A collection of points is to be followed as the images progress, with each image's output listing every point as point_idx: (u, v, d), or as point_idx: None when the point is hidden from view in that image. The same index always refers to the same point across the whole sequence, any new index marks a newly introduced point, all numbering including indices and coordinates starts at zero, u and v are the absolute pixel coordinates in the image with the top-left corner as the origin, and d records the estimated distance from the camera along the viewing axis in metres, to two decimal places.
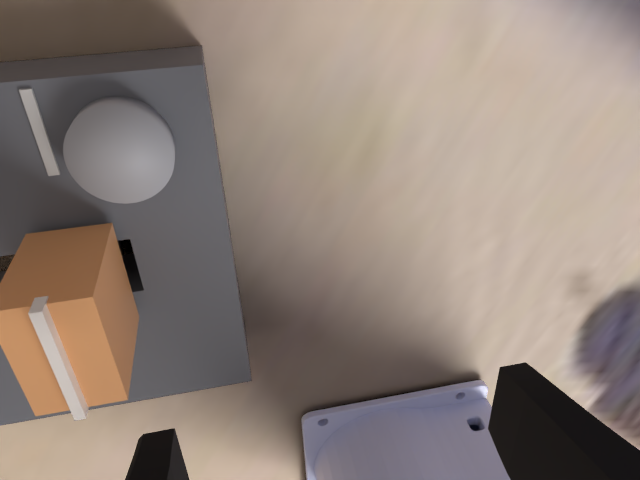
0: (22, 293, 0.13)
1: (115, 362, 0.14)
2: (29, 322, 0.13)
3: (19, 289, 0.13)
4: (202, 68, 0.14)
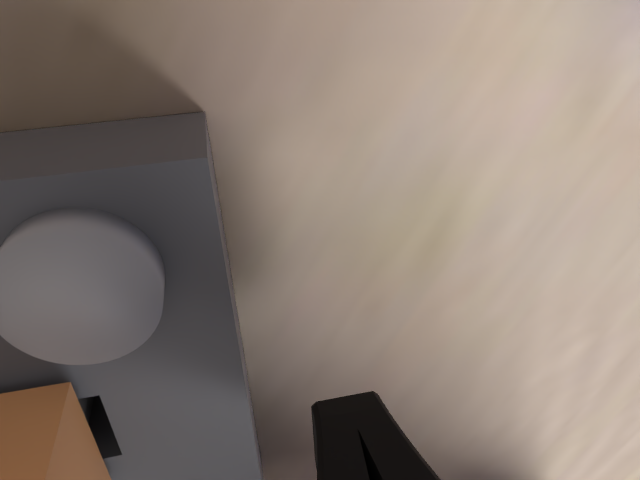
0: None
1: None
2: None
3: None
4: (206, 162, 0.09)
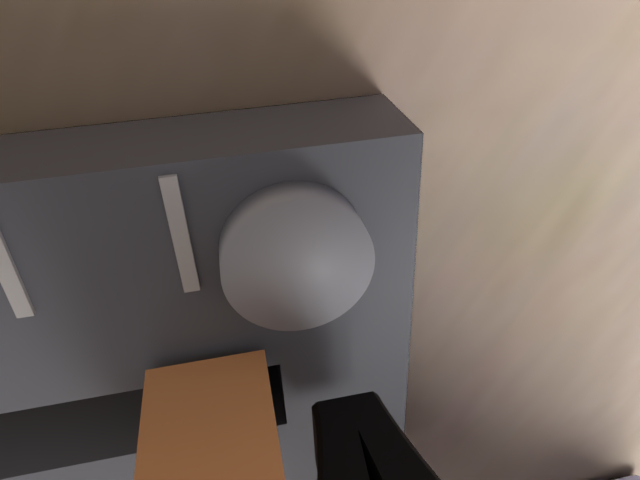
0: None
1: None
2: None
3: None
4: (421, 138, 0.09)
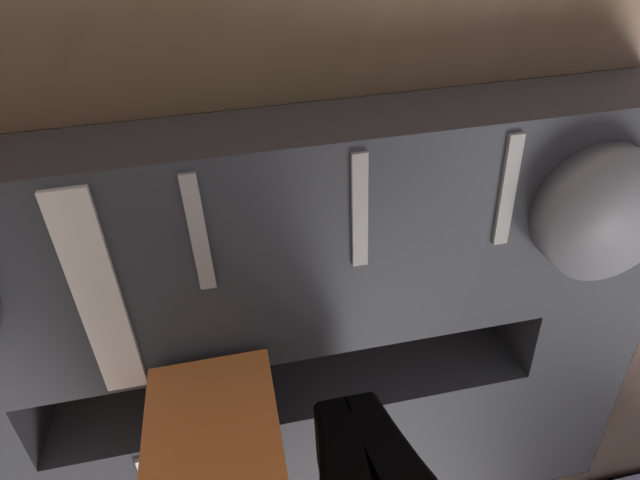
0: None
1: None
2: None
3: None
4: None
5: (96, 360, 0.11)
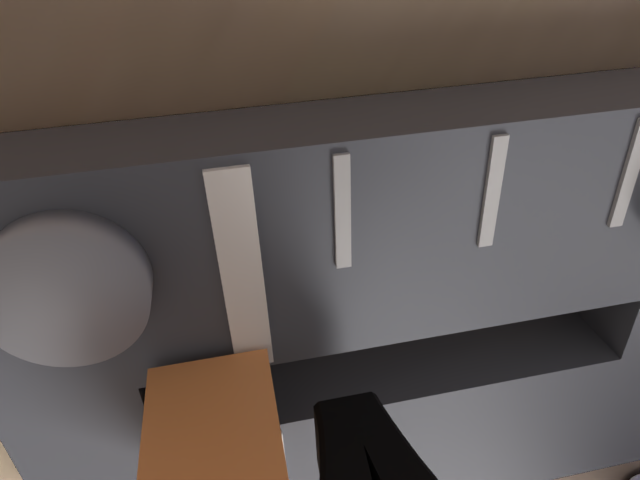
0: None
1: None
2: None
3: None
4: None
5: (230, 337, 0.11)
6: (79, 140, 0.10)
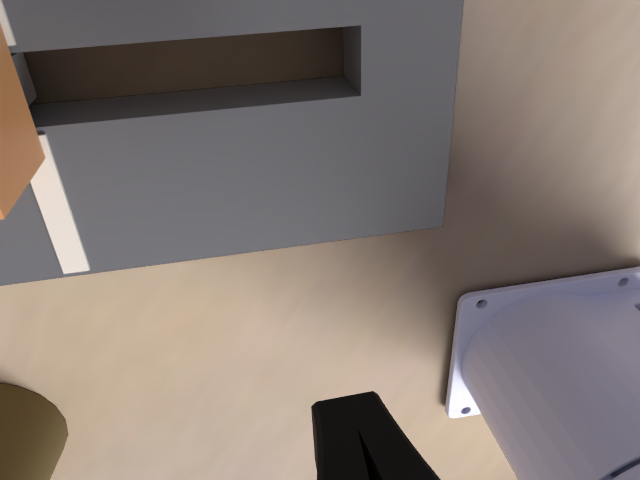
0: None
1: None
2: None
3: None
4: None
5: None
6: None
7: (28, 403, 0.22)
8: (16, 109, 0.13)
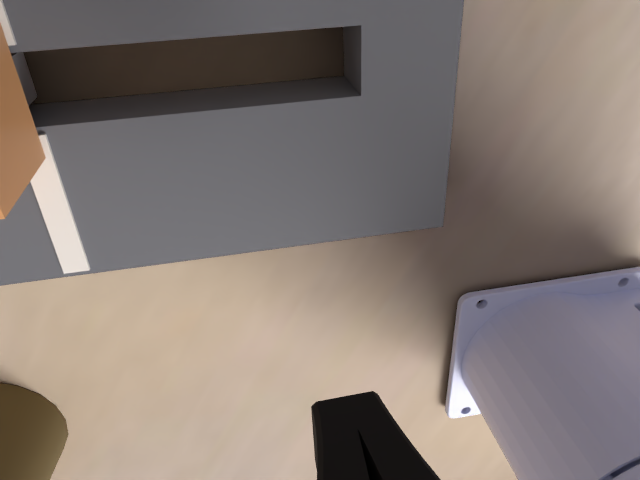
0: None
1: None
2: None
3: None
4: None
5: None
6: None
7: (28, 403, 0.22)
8: (16, 109, 0.13)
